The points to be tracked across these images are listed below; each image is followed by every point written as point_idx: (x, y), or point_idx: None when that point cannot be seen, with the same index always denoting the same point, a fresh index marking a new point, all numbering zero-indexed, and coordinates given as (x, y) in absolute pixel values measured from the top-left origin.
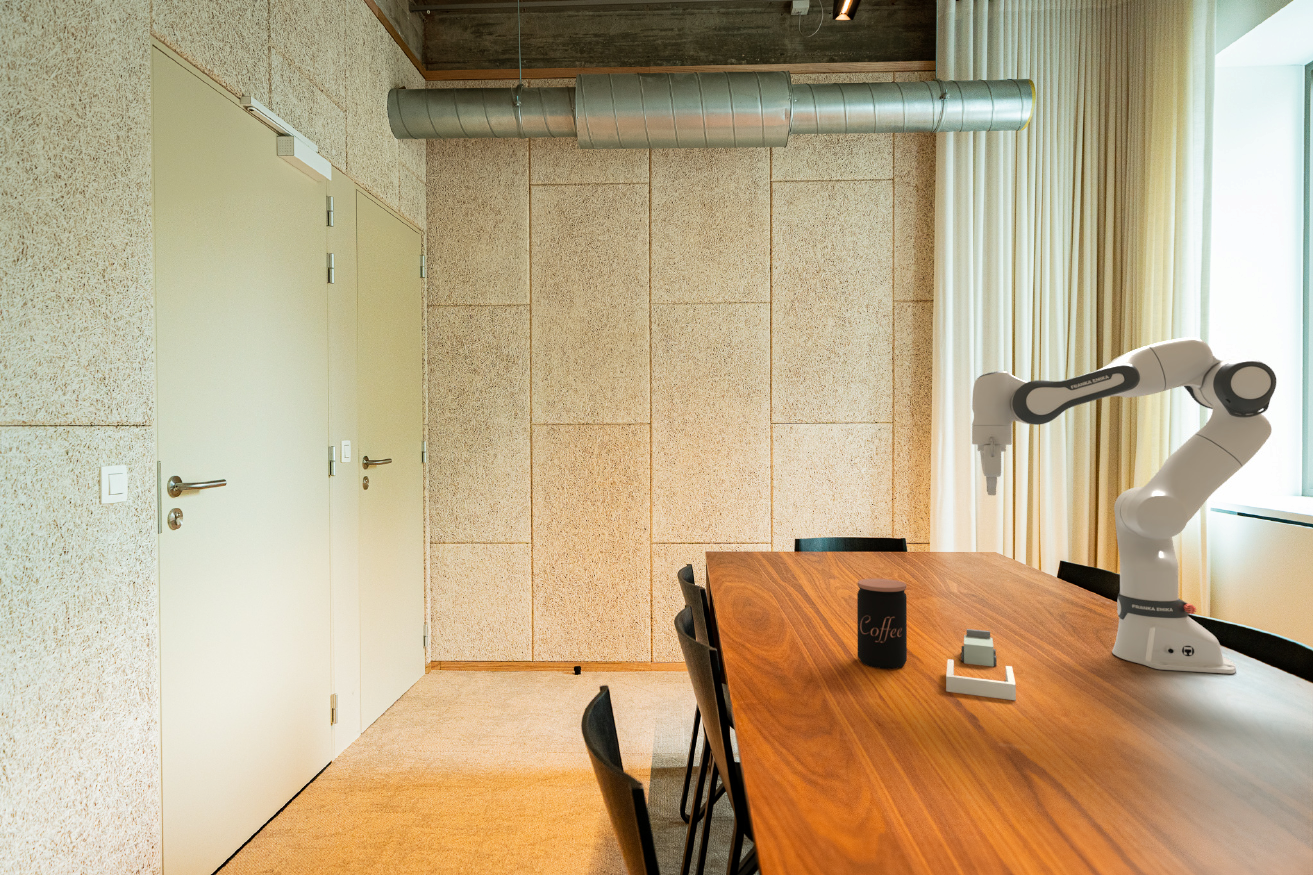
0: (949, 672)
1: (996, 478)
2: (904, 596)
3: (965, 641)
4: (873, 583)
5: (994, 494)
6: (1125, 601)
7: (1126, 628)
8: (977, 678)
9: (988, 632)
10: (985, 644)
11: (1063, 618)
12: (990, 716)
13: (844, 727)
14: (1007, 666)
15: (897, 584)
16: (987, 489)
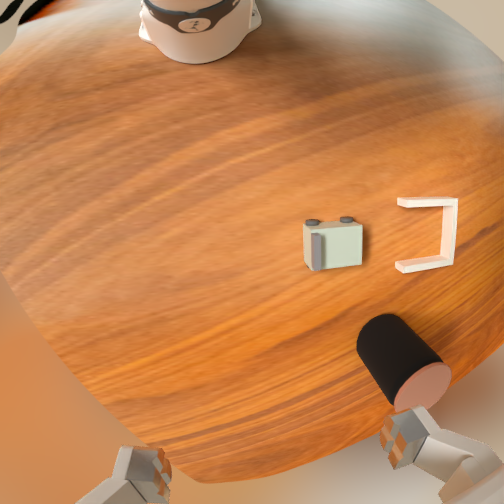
0: (443, 263)
1: (496, 456)
2: (432, 357)
3: (348, 264)
4: (429, 397)
5: (418, 409)
6: (220, 9)
7: (221, 30)
8: (451, 235)
9: (320, 237)
10: (353, 236)
11: (17, 148)
12: (479, 218)
13: (500, 305)
14: (409, 205)
15: (433, 375)
16: (167, 482)
